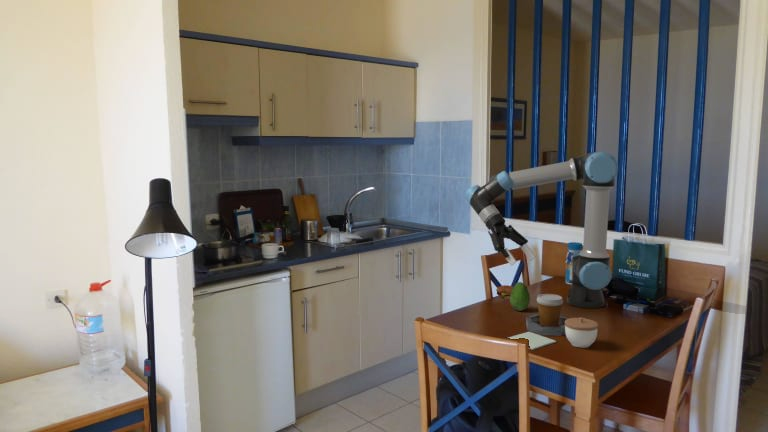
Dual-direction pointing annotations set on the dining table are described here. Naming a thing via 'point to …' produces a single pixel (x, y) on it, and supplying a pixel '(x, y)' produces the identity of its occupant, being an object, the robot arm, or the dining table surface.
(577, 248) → the beverage bottle
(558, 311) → the disposable coffee cup
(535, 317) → the grey shallow tray
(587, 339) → the lidded jar
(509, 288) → the burger
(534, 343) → the sage mat
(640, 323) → the dining table surface
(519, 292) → the avocado
